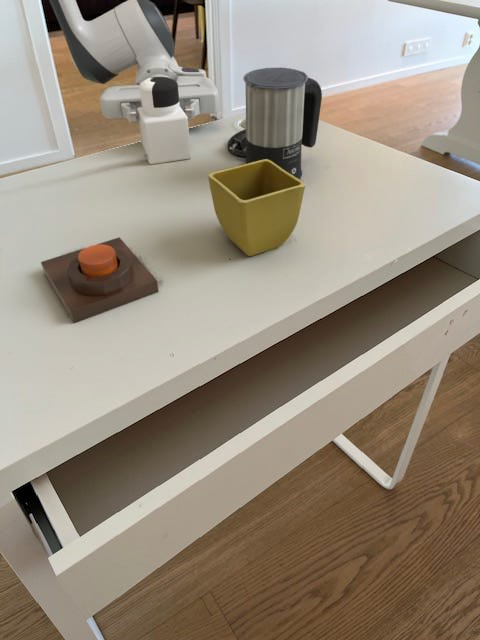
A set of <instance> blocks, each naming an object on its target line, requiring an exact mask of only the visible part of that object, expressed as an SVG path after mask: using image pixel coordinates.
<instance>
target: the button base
mask: <svg viewBox="0 0 480 640" xmlns="http://www.w3.org/2000/svg"><path fill="white" fill-rule="evenodd" d="M99 244H102V245H108V246H111V247H112V248H113V249H114V250H115V253H116V258H117V263H118V267H117V269H116V270H115V271H113V272H112V273H109V274H106V275H103V276H95V277H89V276H86V275H84V274H83V273H82V270H81V267H80V263H79V259H78V255H79V253H80V252H81V251H82V250H83V249H85V248H86V247H84V248H80V249H78V250H74V251H72V252H68V253H65V254H61V255H58V256H55V257H52V258H49V259H46V260H43V261H41V262H40V265H41V268H42V271H43V274H44V275H45V277H46V279H47V280H48V282H49V284H50V285H51V287H52V289H53V290H54V292H55V294H56V295H57V298H58V299H59V300H60V302H61V303H62V306H63V307H64V309H65V310H66V312H67V314H68V316H69V317H70V319H71V320H72V322H73V324H77V323H80V322H82V321H85V320H87V319H90V318H93V317H96V316H98V315H101V314H104V313H106V312H109V311H112V310H113V309H114V310H115V309H117V308H120V307H122V306H125V305H128V304H130V303H134V302H136V301H138V300H141V299H143V298H146V297H150V296H152V295H155V294H157V293H159V292H160V291H159V284H158V279H156V278H155V276H154V275H153V274H152V273H151V272H150V270H149V269H148V268H147V267H146V266H145V265H144V264H143V263H142V261H141V260H140V259H139V258H138V256H137V255H136V254H134V252H133V251H132V250H131V249H130V248H129V246H128V245H127V244H126V243H125V242H124V240H122V238H121V237H116V238H112V239H109V240H106V241H102V242H99V243H96V244H95V245H99Z"/></svg>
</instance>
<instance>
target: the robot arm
mask: <svg viewBox="0 0 480 640" xmlns="http://www.w3.org/2000/svg"><path fill="white" fill-rule="evenodd" d="M49 3H50V5H51V8H52V9H53V13H54V15H55V18H56V19H57V22H58V23H59V26H60V28H61V31H62V34H63V37H64V39H65V41H66V45H67V47H68V52H69V55H70V57H71V60H72V62H73V64H74V66H75V68H76V70H77V72H78V73H79V74H80V76H81V77H82V78H83V79H85V80H86V81H89V82H92V83H95V84H100V85H105V84H108V83H109V82H110V81H111V80H113V79H115V78H116V77H118V76H119V75H120V74H121V73H123V72H125V71H127V70H129V69H131V68H133V67H135V66H136V69H135V84H125V85H113V86H109V87H107V88H105V89H104V90H103V92H102V93H101V94H100V96H99V97H100V98H99V102H100V103H99V104H100V109H101V114H102V118H104V119H106V120H110V121H113V120H127V121H128V124H134V123H138V115H137V108H139V107H142V102H141V95H140V87H139V86H140V84H141V82H143V81H144V80H146V79H148V78H152V77H168V78H171V79H173V80H175V81H176V82H177V83H178V92H179V104H180V107H181V109H182V110H183V111H184V113H185V114H186V116H187V117H188V121H189V120H195V119H196V117H197V116H198V115H214V114H217V113H218V112H219V111H220V98H219V91H218V90H219V89H218V88H217V86H216V85H215V82H213V80H212V79H210V78H209V77H207V73H206V70H205V69H201V68H200V69H199V68H191V67H183V66H179V64H178V62H177V60H176V58H175V57H174V53H175V40H174V38H173V35H172V32H171V29H170V28H169V25H168V23H167V21H166V19H165V17H164V15H163V14H162V12H161V10H160V9H159V7H157V5H156V4H155V3H154V2H152V1H151V0H126V1H124V2H122V3H120V4H118V5H116V6H115V7H114V8H112V9H110V10H108V11H107V12H105V13H103V14H102V15H100V16H98V17H96V18H94V19H92V20H85V19H84V18H83V15H82V14H81V13H82V12H81V11H80V8H79V6H78V3H77V0H49Z"/></svg>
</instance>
